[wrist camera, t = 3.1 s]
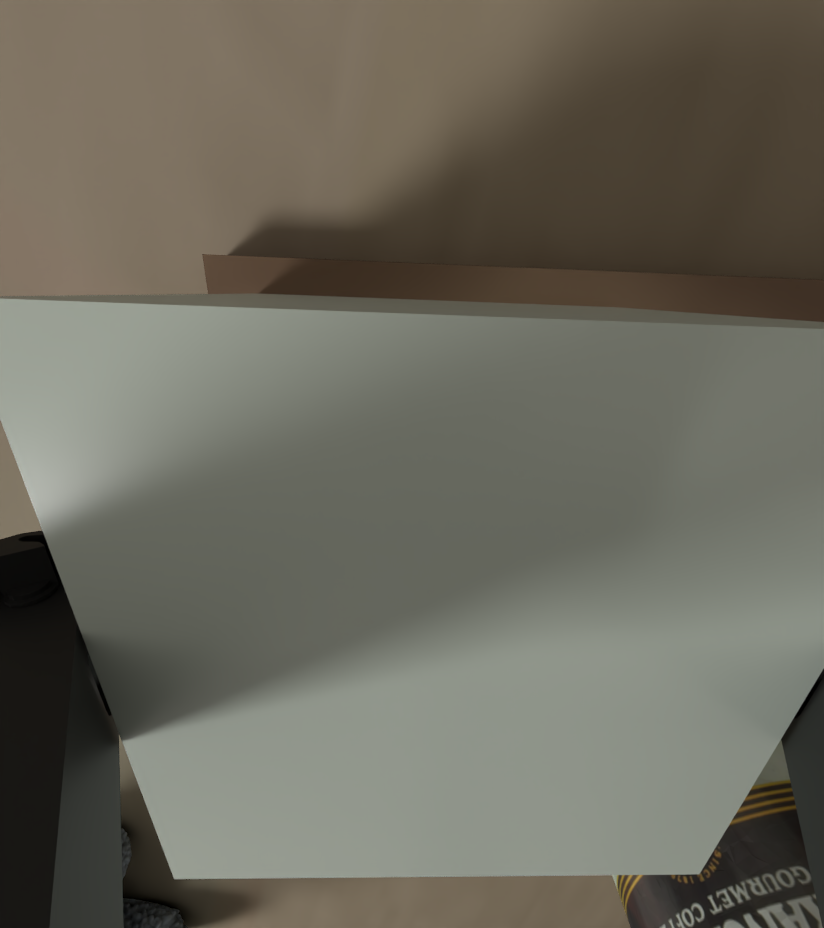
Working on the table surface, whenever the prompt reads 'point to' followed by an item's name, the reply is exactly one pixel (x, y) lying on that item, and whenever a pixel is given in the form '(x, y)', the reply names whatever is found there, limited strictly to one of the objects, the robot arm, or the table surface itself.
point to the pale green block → (430, 569)
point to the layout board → (518, 286)
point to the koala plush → (145, 903)
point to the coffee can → (737, 870)
